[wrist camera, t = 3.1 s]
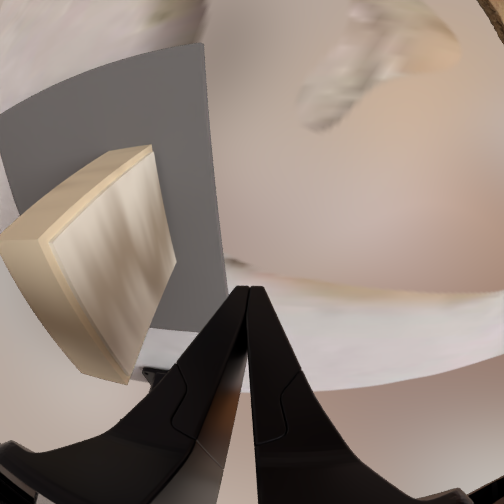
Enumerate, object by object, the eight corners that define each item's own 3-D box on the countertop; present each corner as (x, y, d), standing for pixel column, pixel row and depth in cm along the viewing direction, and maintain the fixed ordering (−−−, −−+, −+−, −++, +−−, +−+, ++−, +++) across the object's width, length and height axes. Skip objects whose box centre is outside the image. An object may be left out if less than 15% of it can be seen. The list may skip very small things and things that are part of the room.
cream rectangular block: (179, 262, 16) (131, 386, 9) (135, 261, 16) (78, 372, 10) (155, 143, 12) (42, 239, 5) (105, 151, 12) (-9, 241, 5)
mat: (233, 327, 20) (232, 334, 19) (73, 310, 21) (70, 315, 21) (203, 44, 9) (200, 42, 9) (-1, 116, 11) (-7, 118, 10)
